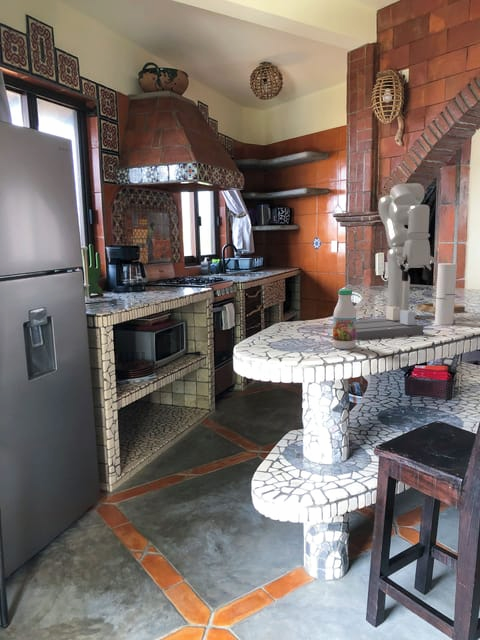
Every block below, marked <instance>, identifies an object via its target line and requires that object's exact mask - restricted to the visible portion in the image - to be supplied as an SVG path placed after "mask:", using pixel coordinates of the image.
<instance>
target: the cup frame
mask: <svg viewBox="0 0 480 640" xmlns="http://www.w3.org/2000/svg"><path fill="white" fill-rule="evenodd" d="M465 309H466V308H465V306H463V305H460V304H454V314H455V313H465ZM417 310H420V311H424V312H428V313H433V314H435V311H436V308H435V307H433V302H428V303H417Z"/></svg>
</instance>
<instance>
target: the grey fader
mask: <svg viewBox="0 0 480 640" xmlns="http://www.w3.org/2000/svg"><path fill="white" fill-rule="evenodd" d="M399 319H400V323H402V324H405V325H414V324H415V321H416V320H415V319H416V312H415V311H413V310H410V309H409V310H405V309H404V310H400V318H399Z"/></svg>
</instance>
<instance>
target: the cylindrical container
mask: <svg viewBox="0 0 480 640" xmlns="http://www.w3.org/2000/svg"><path fill="white" fill-rule="evenodd" d="M457 267H458V263H454V262H453V263H448V262H446V263H444V262H443V263H442V262H441V263H437V280H436V296H435V297H436V299H435V301H436V311H435V313H434V314H435V315H434V324H436V325H441V326H449V325H451V326H452V325H453V324H454V320H455V319H454V316H455V313H454V305H456V304H455V302H456V285H457V271H458V270H457V269H458V268H457Z"/></svg>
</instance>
